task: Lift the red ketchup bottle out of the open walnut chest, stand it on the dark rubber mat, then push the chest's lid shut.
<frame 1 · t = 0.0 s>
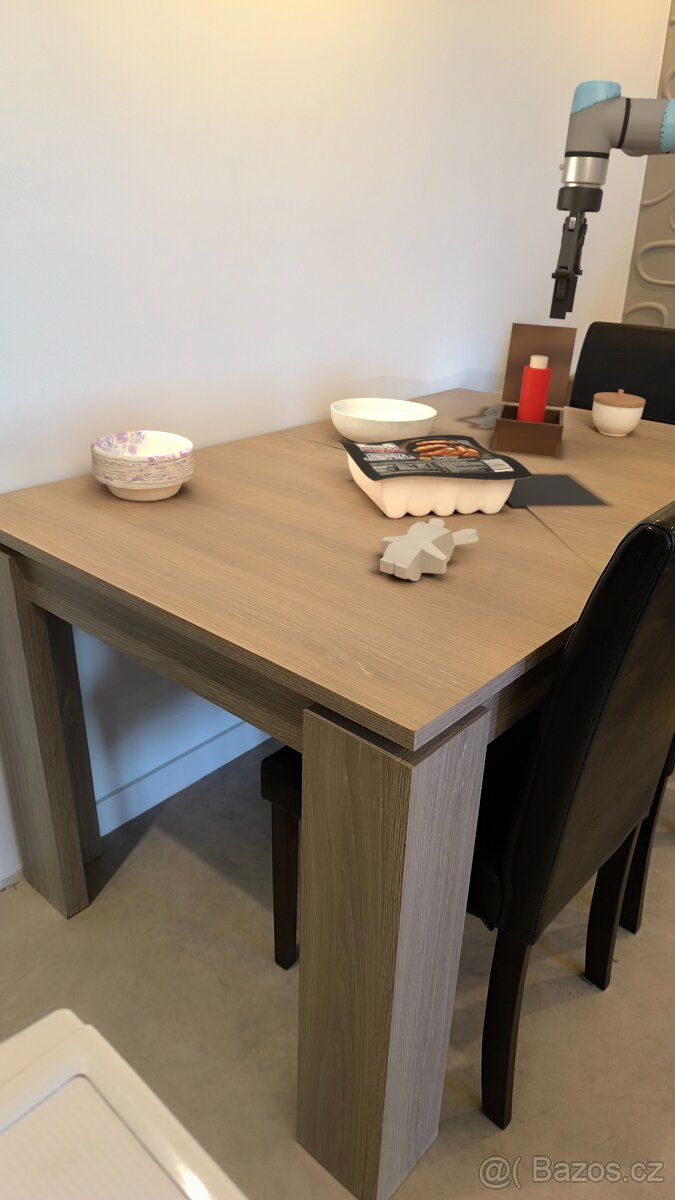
hand: (561, 315, 152), 26 cm above the table, tool pointing down, fingers open, 13 cm apart
chest lid: (538, 365, 167), point 15 cm above the table, hinge at 100.0°
cloth: (501, 421, 186), on the table
paper bowls: (145, 493, 129), on the table
chest: (525, 448, 165), on the table
ketchup: (526, 444, 165), point 1 cm above the table, touching chest
food packaging: (424, 499, 133), on the table
trinket box: (612, 433, 181), on the table
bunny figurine: (423, 566, 108), on the table
mat: (540, 492, 139), on the table
serving bowl: (381, 443, 163), on the table
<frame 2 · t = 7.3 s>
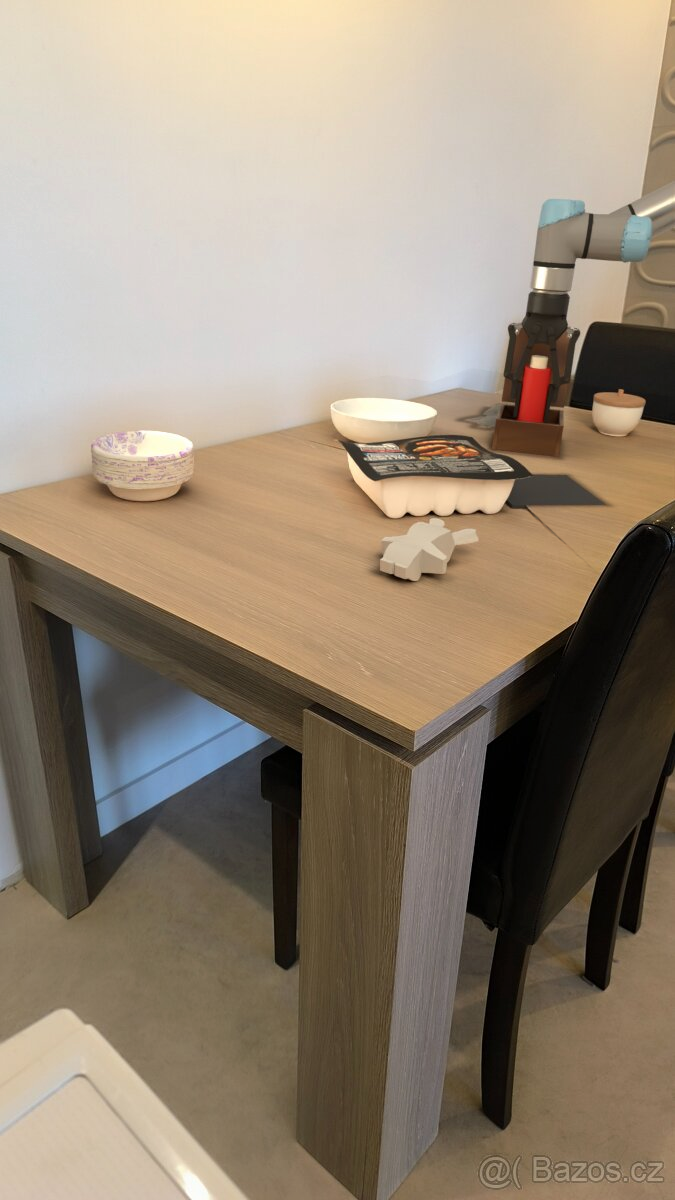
hand: (530, 416, 163), 6 cm above the table, tool pointing down, fingers closed on ketchup, 5 cm apart
ketchup: (526, 444, 165), point 1 cm above the table, touching chest, gripper
everything else where it was.
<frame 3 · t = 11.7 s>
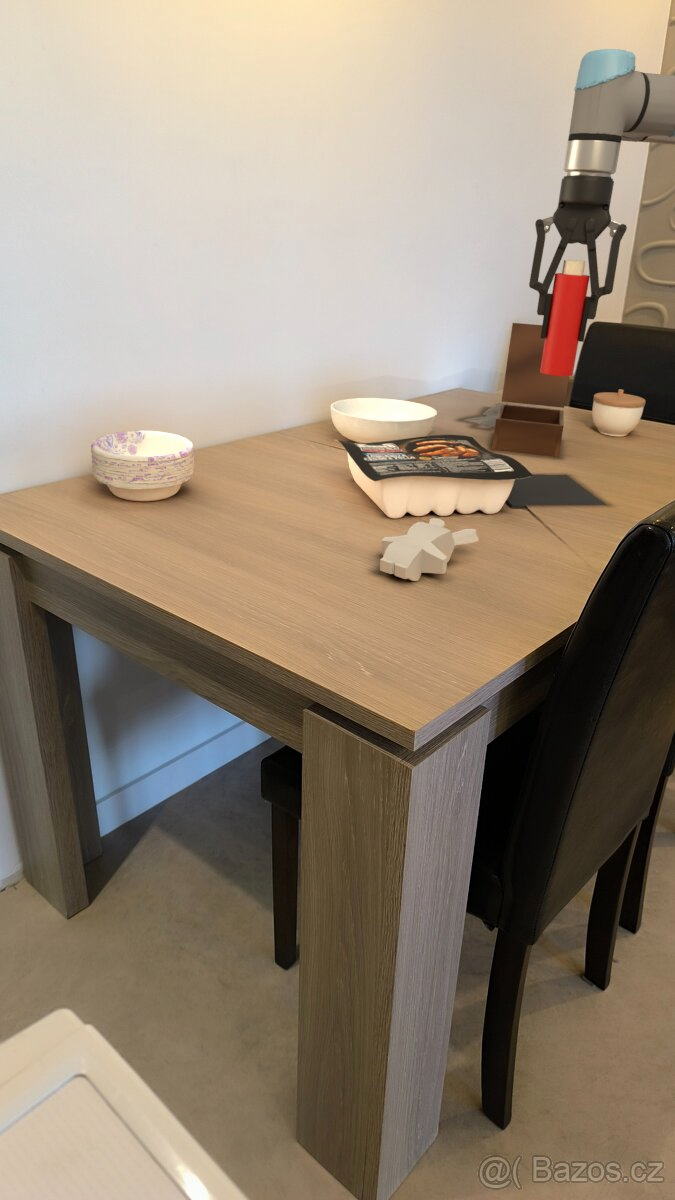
hand: (561, 338, 132), 25 cm above the table, tool pointing down, fingers closed on ketchup, 5 cm apart
ketchup: (556, 373, 134), point 19 cm above the table, touching gripper
everything else where it was.
when the fingers open (6 cm above the table, at t = 16.3 s): ketchup stays where it is, resting on mat.
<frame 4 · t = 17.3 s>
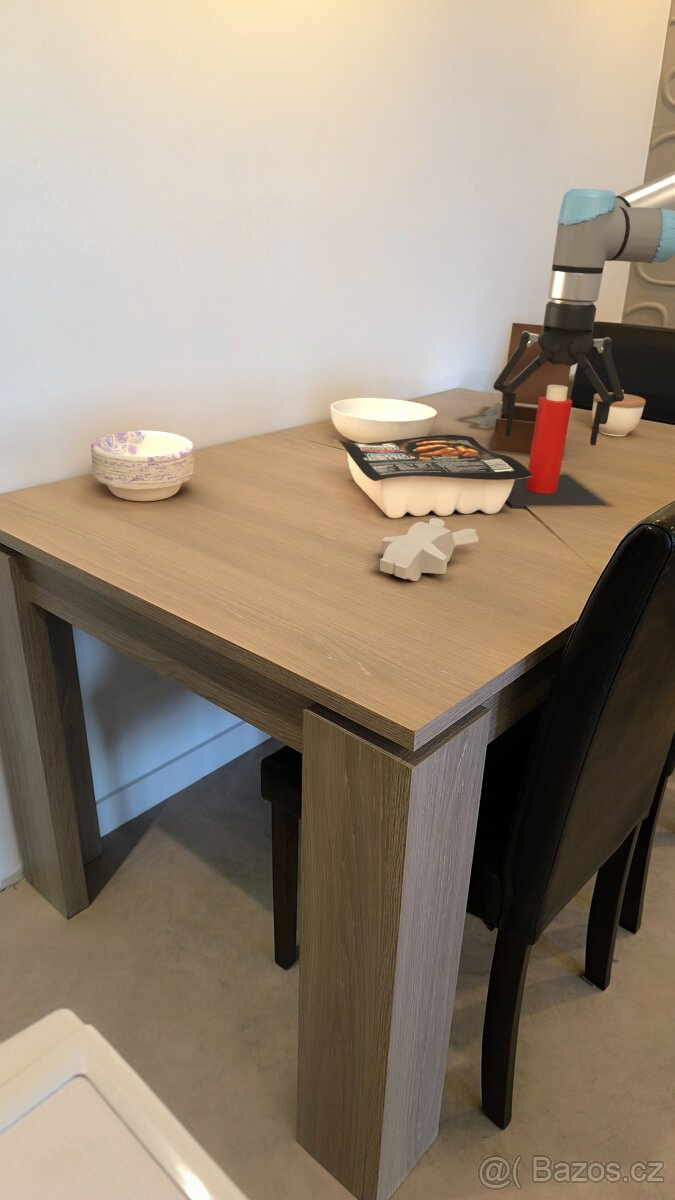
hand: (549, 439, 135), 9 cm above the table, tool pointing down, fingers open, 13 cm apart
ketchup: (541, 489, 139), point 1 cm above the table, touching mat
everything else where it was.
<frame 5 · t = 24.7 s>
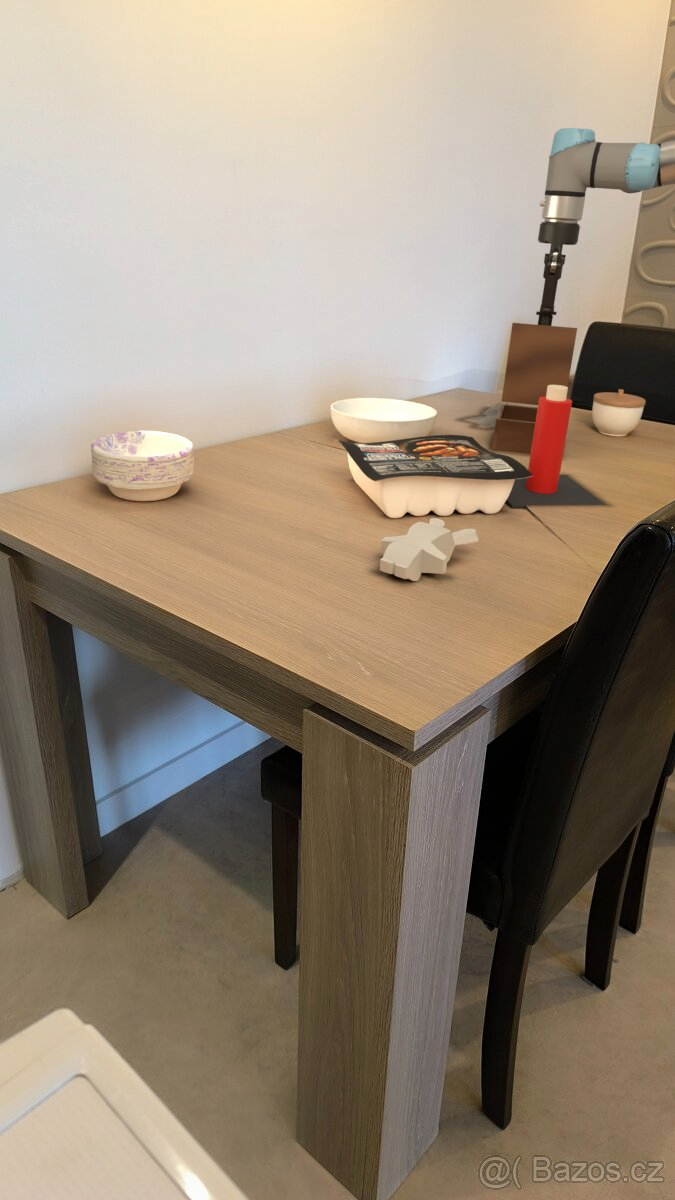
hand: (540, 348, 168), 18 cm above the table, tool pointing down, fingers closed
chest lid: (538, 365, 166), point 15 cm above the table, hinge at 96.5°, touching gripper
everything else where it was.
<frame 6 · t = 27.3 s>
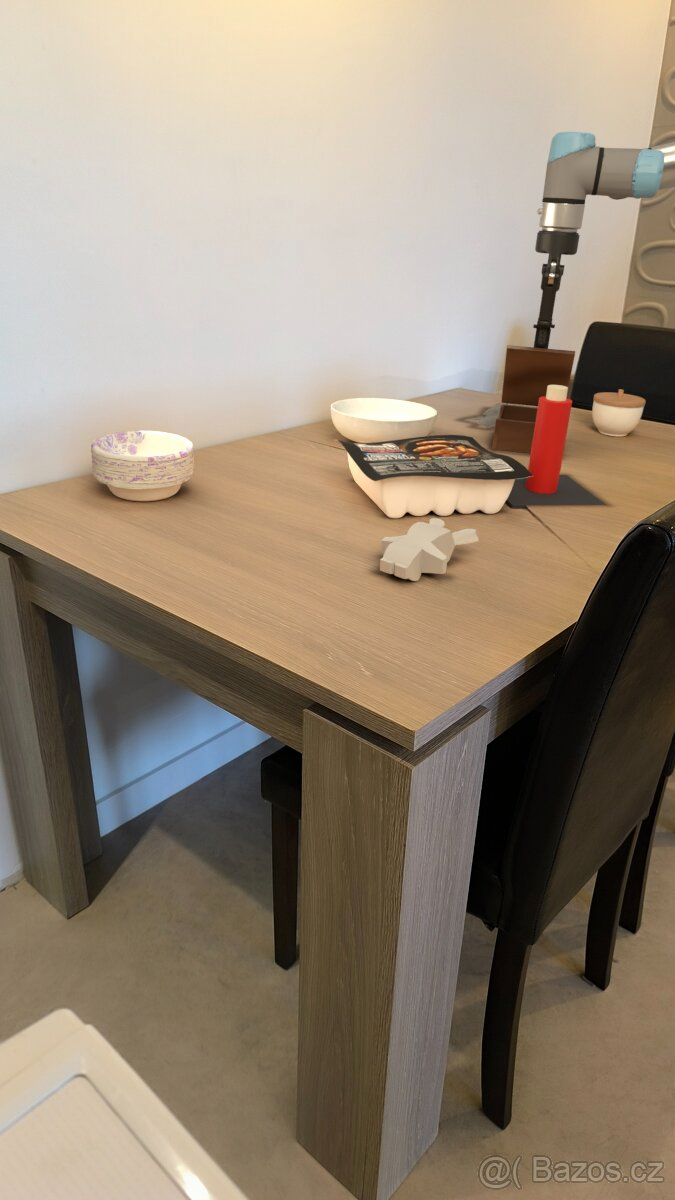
hand: (538, 363, 160), 16 cm above the table, tool pointing down, fingers closed
chest lid: (536, 378, 162), point 13 cm above the table, hinge at 52.1°, touching gripper
everything else where it was.
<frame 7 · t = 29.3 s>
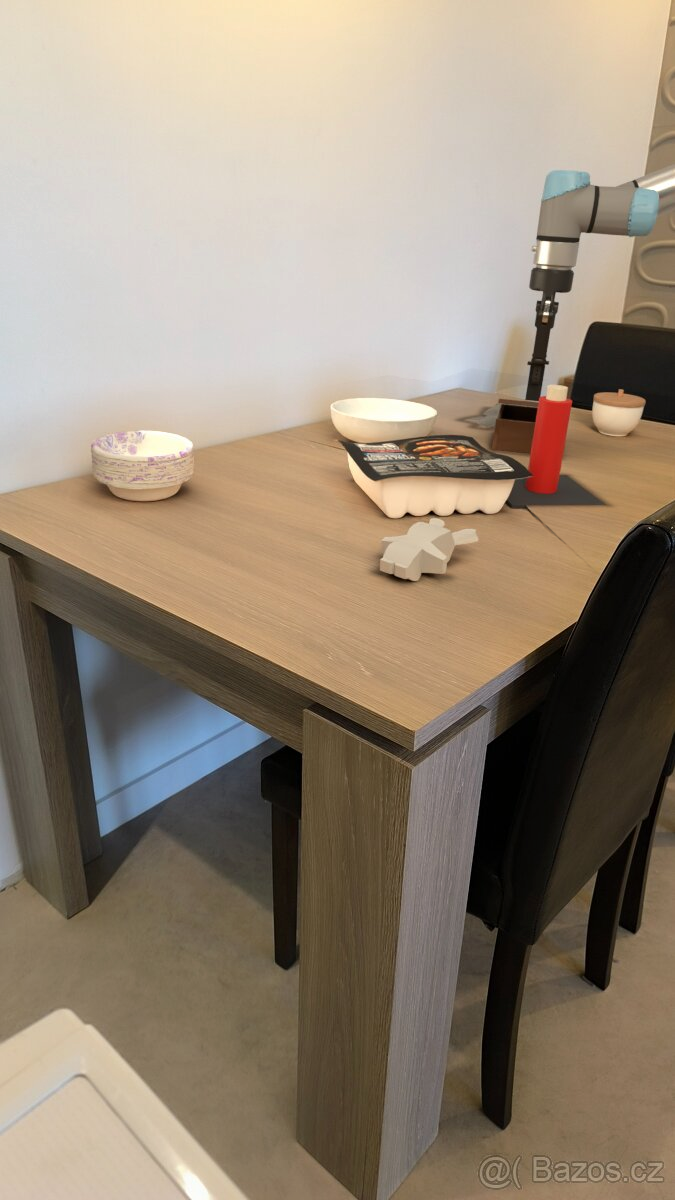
hand: (532, 399, 158), 10 cm above the table, tool pointing down, fingers closed
chest lid: (532, 404, 161), point 9 cm above the table, hinge at 11.4°, touching gripper
everything else where it was.
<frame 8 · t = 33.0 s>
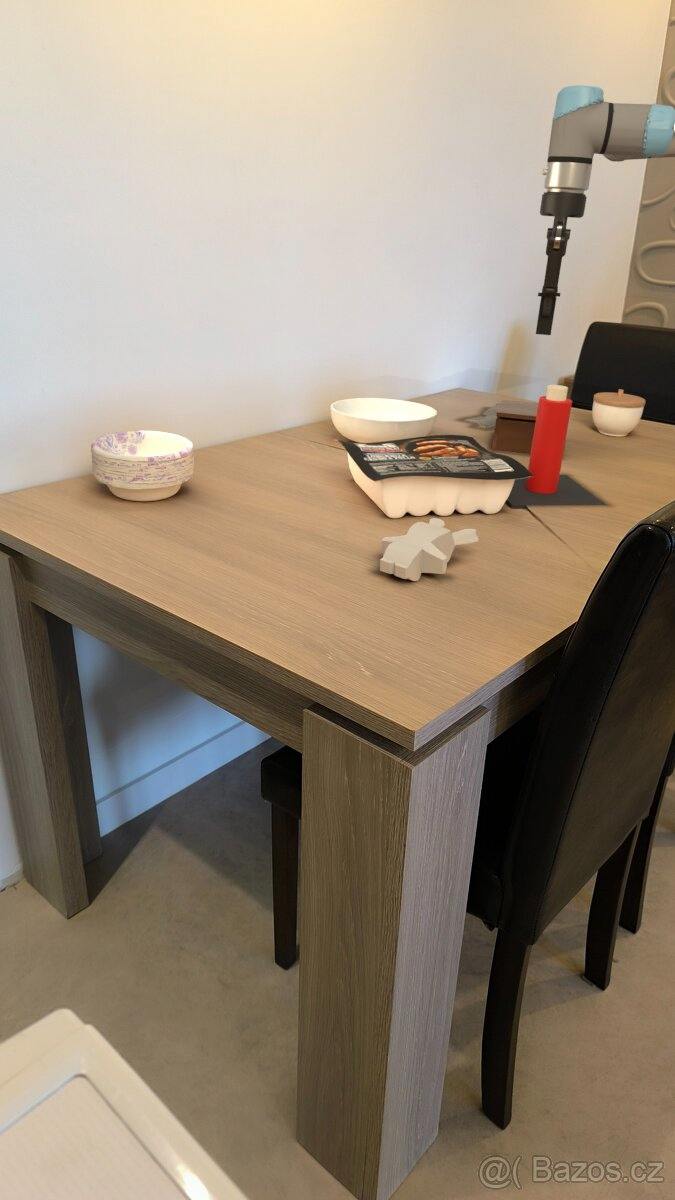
hand: (543, 334, 152), 22 cm above the table, tool pointing down, fingers closed
chest lid: (531, 410, 162), point 8 cm above the table, hinge at 2.0°
everything else where it was.
at the end: ketchup inside the target area on the mat (0.0 cm from its centre), point 0.6 cm above the mat's base; ketchup tilted 0°; chest lid at +2° (first picture: +100°) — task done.
